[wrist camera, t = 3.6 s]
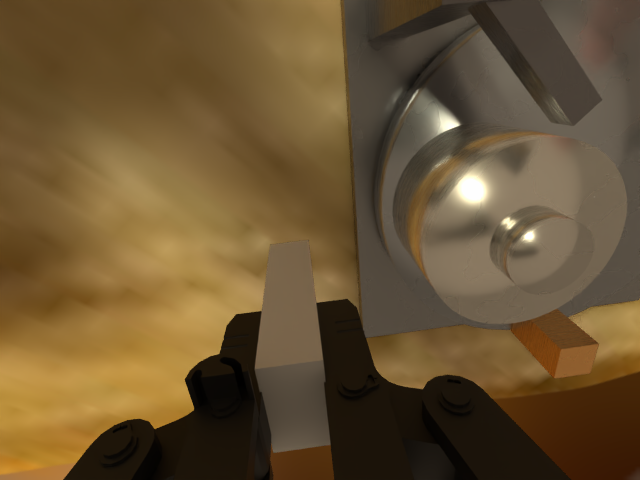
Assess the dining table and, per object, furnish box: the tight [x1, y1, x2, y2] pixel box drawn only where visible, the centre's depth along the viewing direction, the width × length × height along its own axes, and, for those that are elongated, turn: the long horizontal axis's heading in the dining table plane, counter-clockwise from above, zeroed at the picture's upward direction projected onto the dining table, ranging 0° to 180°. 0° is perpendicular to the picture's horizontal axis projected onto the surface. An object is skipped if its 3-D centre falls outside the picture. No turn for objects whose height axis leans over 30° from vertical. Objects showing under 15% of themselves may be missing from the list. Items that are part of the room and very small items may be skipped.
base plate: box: [341, 0, 640, 338], centre depth 21 cm, size 20×20×1 cm
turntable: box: [374, 0, 640, 379], centre depth 18 cm, size 18×18×6 cm
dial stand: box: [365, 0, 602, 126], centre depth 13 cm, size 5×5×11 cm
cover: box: [392, 122, 627, 324], centre depth 16 cm, size 8×8×6 cm
